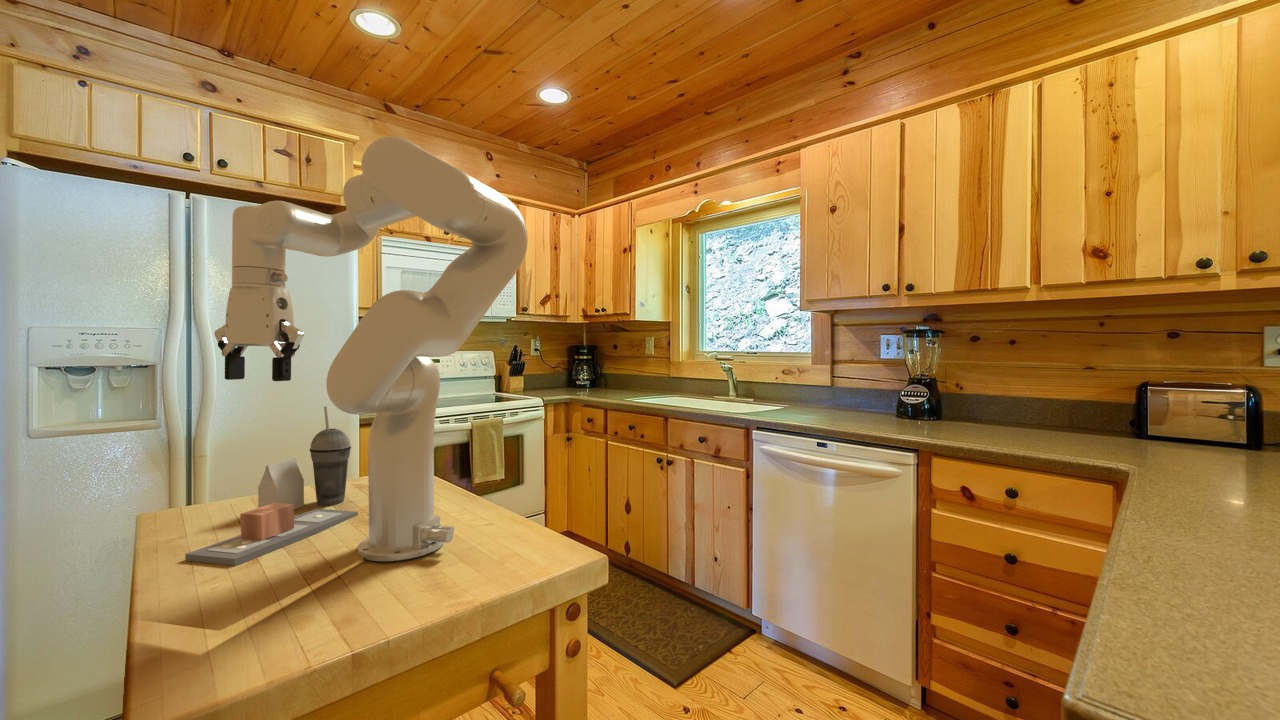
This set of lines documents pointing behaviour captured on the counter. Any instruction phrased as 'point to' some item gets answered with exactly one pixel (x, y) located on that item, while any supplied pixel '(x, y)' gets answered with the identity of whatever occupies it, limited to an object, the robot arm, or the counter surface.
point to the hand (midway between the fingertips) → (257, 380)
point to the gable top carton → (282, 485)
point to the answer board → (269, 539)
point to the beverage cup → (330, 464)
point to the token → (267, 521)
